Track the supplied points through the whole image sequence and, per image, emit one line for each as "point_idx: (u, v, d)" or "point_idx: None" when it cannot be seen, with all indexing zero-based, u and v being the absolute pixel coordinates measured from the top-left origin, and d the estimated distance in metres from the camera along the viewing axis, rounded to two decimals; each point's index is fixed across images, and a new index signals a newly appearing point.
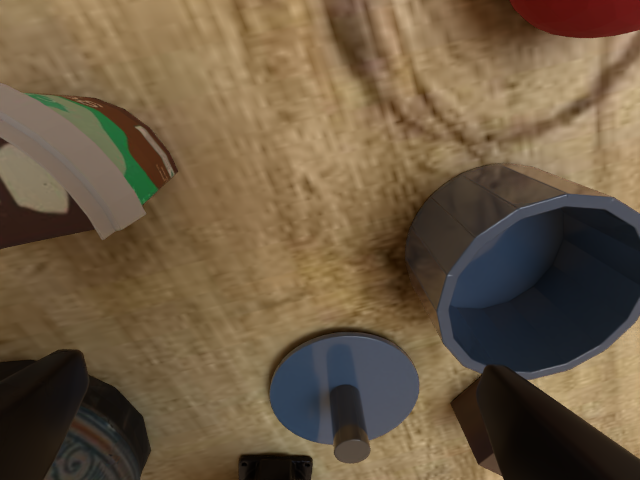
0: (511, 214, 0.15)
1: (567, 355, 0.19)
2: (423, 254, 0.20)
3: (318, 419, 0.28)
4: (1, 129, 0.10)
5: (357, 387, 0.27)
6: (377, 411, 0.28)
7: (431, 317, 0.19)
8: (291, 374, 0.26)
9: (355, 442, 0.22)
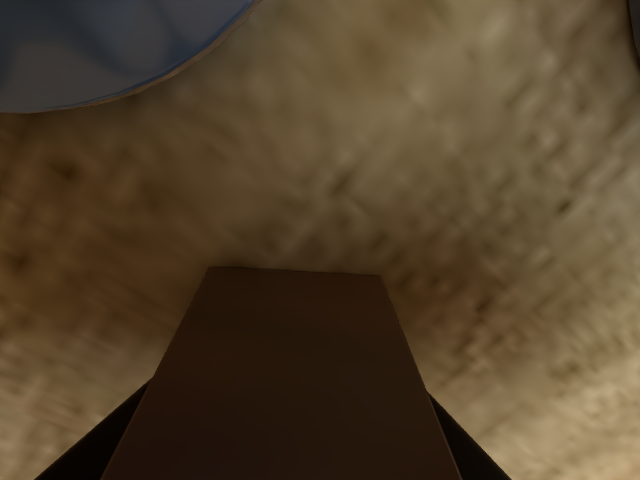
0: None
1: None
2: None
3: None
4: None
5: None
6: None
7: None
8: None
9: None
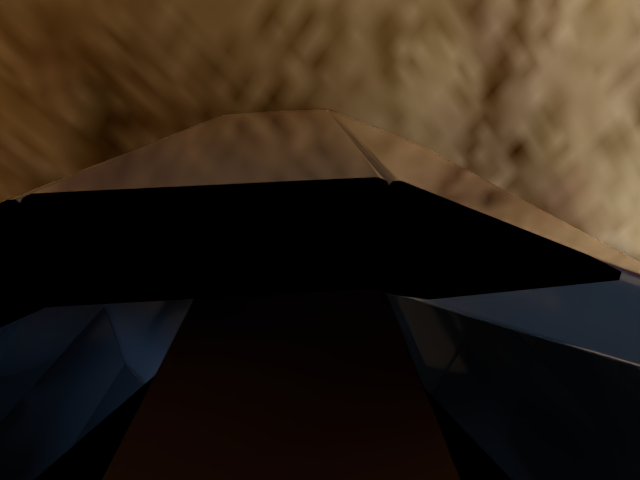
0: None
1: None
2: None
3: None
4: None
5: None
6: None
7: None
8: None
9: None
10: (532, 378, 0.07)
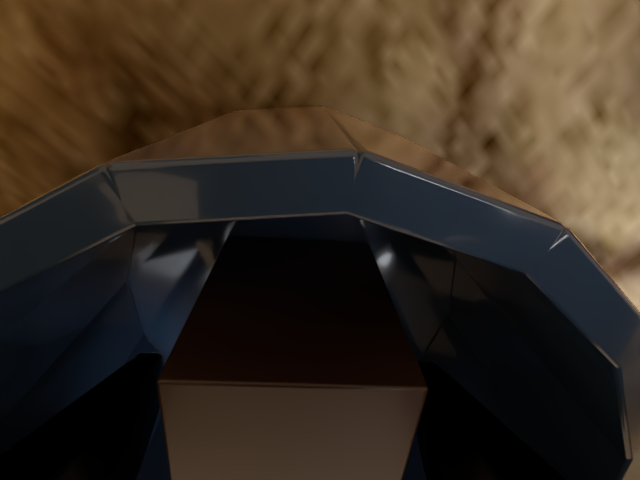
0: (533, 222, 0.03)
1: None
2: None
3: None
4: None
5: None
6: None
7: None
8: None
9: None
10: (498, 336, 0.08)
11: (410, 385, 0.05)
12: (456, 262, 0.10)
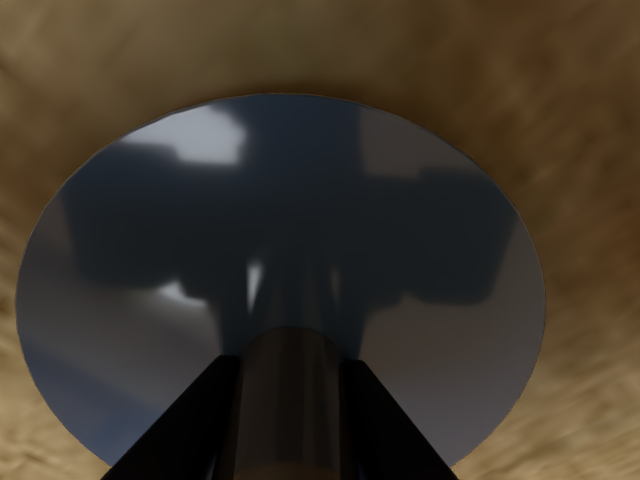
0: None
1: None
2: None
3: (333, 243, 0.07)
4: None
5: None
6: (139, 347, 0.07)
7: None
8: (485, 380, 0.08)
9: None
10: None
11: None
12: None
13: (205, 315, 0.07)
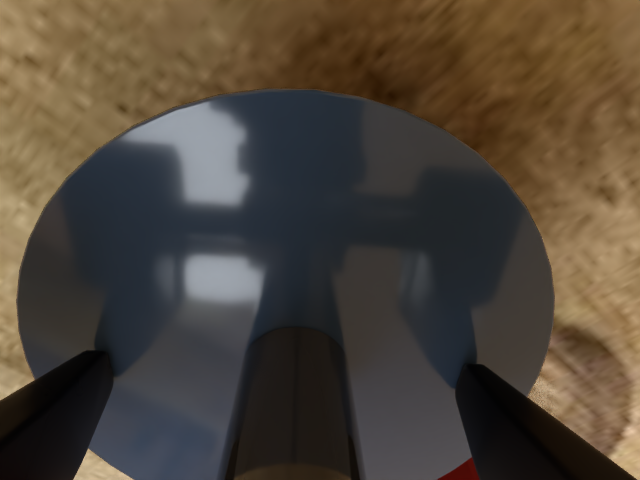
0: None
1: None
2: None
3: (338, 241, 0.07)
4: None
5: None
6: (143, 346, 0.07)
7: None
8: None
9: None
10: None
11: None
12: None
13: (209, 314, 0.07)
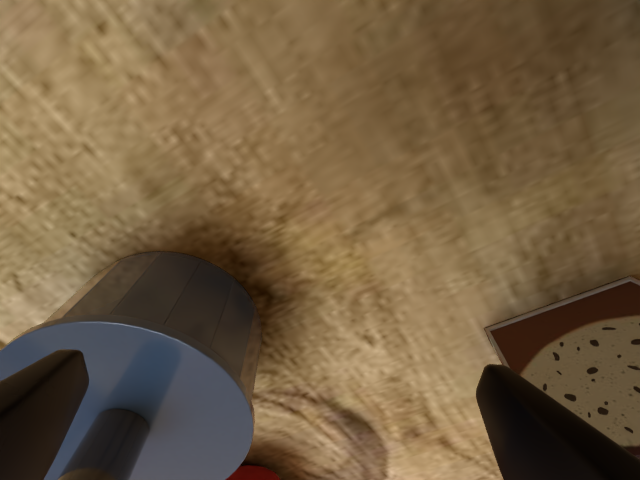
0: None
1: None
2: (254, 360, 0.19)
3: (147, 379, 0.14)
4: None
5: None
6: None
7: (223, 337, 0.16)
8: (224, 449, 0.16)
9: None
10: None
11: None
12: None
13: None
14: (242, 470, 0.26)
